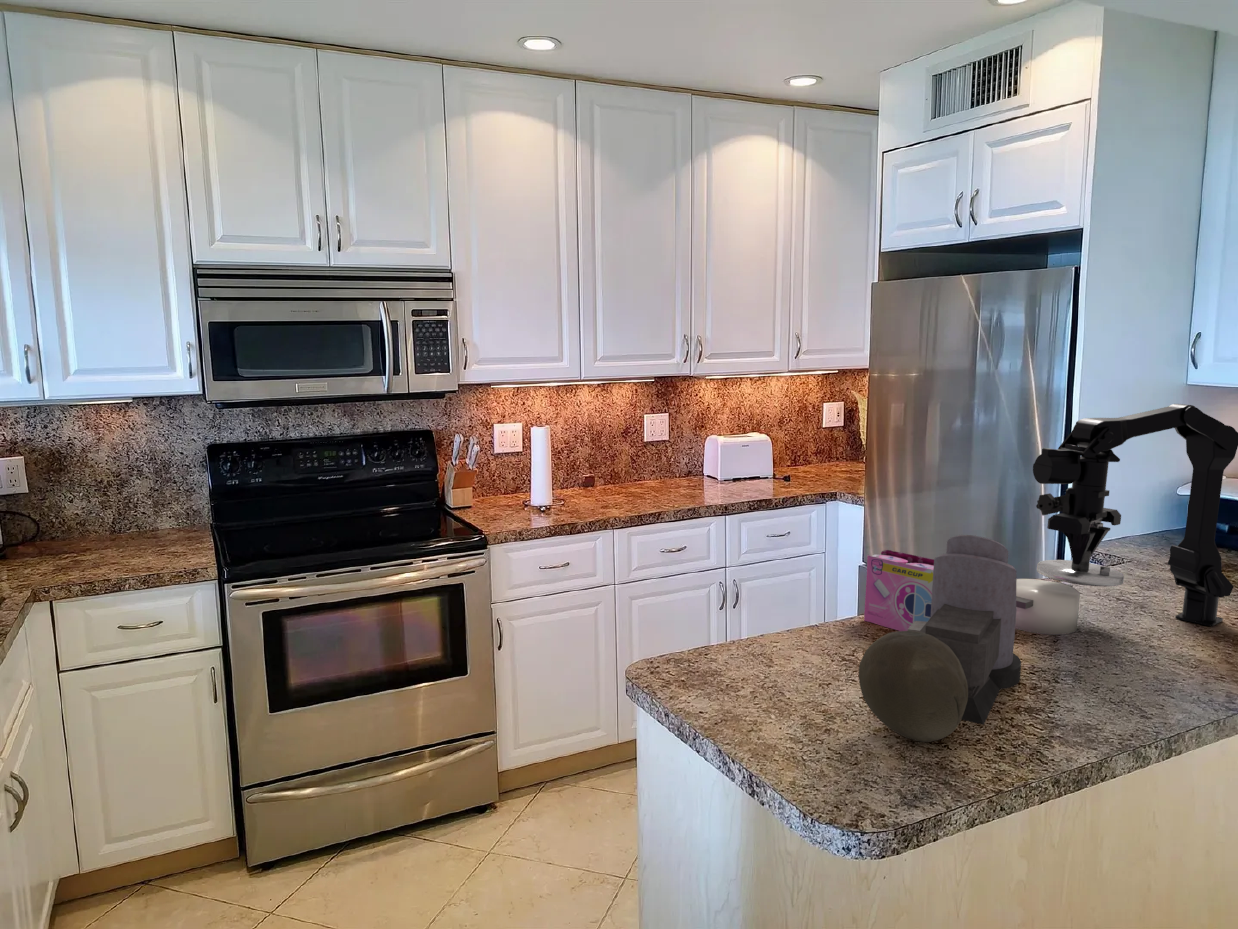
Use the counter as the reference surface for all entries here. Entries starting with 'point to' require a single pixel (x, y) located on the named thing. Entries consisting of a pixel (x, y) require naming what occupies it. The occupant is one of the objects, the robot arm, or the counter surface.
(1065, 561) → the cooker lid
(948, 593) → the juicer
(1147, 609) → the counter surface
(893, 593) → the pink product box
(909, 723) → the cantaloupe
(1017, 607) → the cooker pot
